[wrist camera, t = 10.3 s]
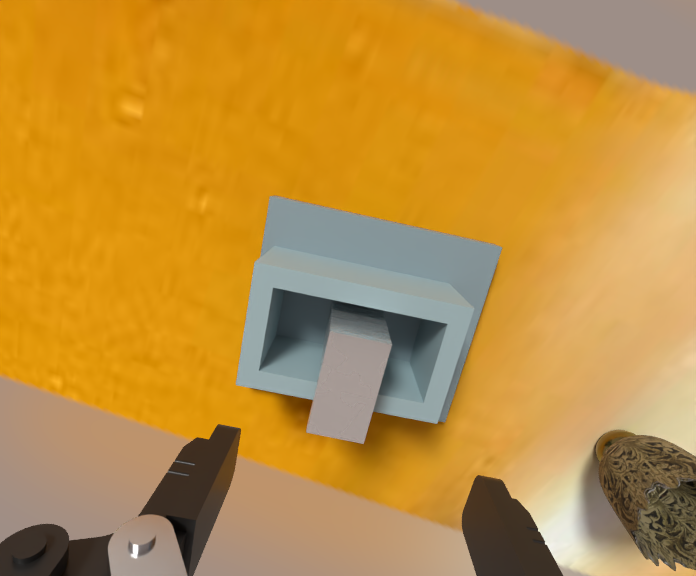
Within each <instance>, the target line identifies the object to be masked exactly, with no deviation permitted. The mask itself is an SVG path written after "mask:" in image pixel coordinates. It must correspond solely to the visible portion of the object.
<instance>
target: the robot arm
mask: <svg viewBox="0 0 696 576" xmlns="http://www.w3.org/2000/svg"><path fill="white" fill-rule="evenodd" d="M240 434H241V429H240V428H236V427H230V426H225V425H220V424H218V425H217V427H216V428H215V430H214V432H213V433H212V435H211V437H210V439H209V440H208V439H203V438H198V437H197V438H195V439H194V440H193V441H191V442H190V443H188V444H187V445H186V446H184V447H183V449H182V450H181V452H180V453H179V455H178V456H177V458H176V460H175V462H173V464H172V465H171V467H170V469H169V471H168V473H166V475H165V476H164V478H163V479H162V481H161V483H160V484H159V485H158V487H157V488H156V490H155V492H154V493H153V495H152V496H151V498H150V499H149V501H148V502H147V504H146V505H145V507H144V508H143V510H142V512H141V513H140V514H139V516H138V517H135V518H133V519H131V520H129V521H127V522H126V523H124V524H123V525H121V526H120V527H119V528H118V529H117V530H116V531H115V532H114V533H113V534H110V535H106V536H102V537H96V538H88V539H79V540H71V541H69V536H68V533H67V532H66V530H65V529H63V528H62V527H60V526H58V525H54V524H40V525H35V526H31V527H28V528H25V529H23V530H20V531H19V532H16V533H15V534H13V535H11V536H10V537H8V538H7V539H5V540H4V541H3V542H1V544H0V576H193V574H194V572H195V570H196V567H197V565H198V562H199V560H200V558H201V555H202V553H203V550H204V548H205V545H206V543H207V541H208V538H209V536H210V533H211V531H212V528H213V526H214V523H215V521H216V519H217V516H218V514H219V511H220V509H221V507H222V504H223V502H224V499H225V497H226V494H227V492H228V490H229V487H230V484H231V481H232V478H233V474H234V470H235V465H236V459H237V452H238V446H239V440H240ZM462 529H463V534H464V537H465V540H466V543H467V546H468V550H469V553H470V556H471V559H472V562H473V565H474V568H475V571H476V575H477V576H563V575H562V573H561V571H560V569H559V567H558V565H557V563H556V561H555V560H554V558H553V556H552V554H551V552H550V550H549V548H548V547H547V545H545V541H544V539H543V537H542V535H541V533H540V532H538V528H537V526H536V524H535V522H534V520H533V519H532V517H531V515H530V513H529V512H528V511H527V510H526V509H525V508H524V507H523V506H522V505H521V503H520V502H519V501H518V500H517V499H512V498H511V496H510V494H509V492H508V490H507V488H506V486H505V484H504V482H503V481H502V480H500V479H496V478H491V477H485V476H480V475H478V476H477V477H476V478H475V480H474V482H473V485H472V488H471V491H470V493H469V496H468V499H467V502H466V504H465V507H464V510H463V514H462Z"/></svg>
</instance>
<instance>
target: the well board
mask: <svg viewBox="0 0 696 576" xmlns="http://www.w3.org/2000/svg"><path fill="white" fill-rule="evenodd" d="M501 250H502V247H500V246H497V245H495V244H491V243H486V242H482V241H477V240H473V239H468V238H464V237H459V236H455V235H450V234H446V233H441V232H437V231H432V230H428V229H423V228H419V227H414V226H410V225H405V224H401V223H396V222H392V221H387V220H383V219H378V218H374V217H369V216H365V215H360V214H355V213H351V212H346V211H342V210H337V209H333V208H328V207H324V206H319V205H315V204H310V203H306V202H301V201H297V200H292V199H288V198H283V197H279V196H270V200H269V206H268V213H267V219H266V225H265V232H264V238H263V244H262V251H261V257H260V258H259V259H258V260H257V261H255V264H254V270H253V277H252V283H251V290H250V296H249V303H248V309H247V316H246V322H245V329H244V335H243V342H242V348H241V354H240V361H239V367H238V374H237V380H236V385H239V386H244V387H249V388H254V389H259V390H265V391H270V392H275V393H280V394H285V395H290V396H296V397H301V398H306V399H311V400H313V397H314V393H315V389H316V385H317V380H318V376H319V370H320V364H321V358H322V351H323V345H324V339H325V333H326V328H327V323H328V319H329V315H330V311H331V306H332V302H333V300H335V301H340V302H345V303H350V304H355V305H359V306H364V307H369V308H374V309H379V310H383V312H384V316H385V320H386V324H387V328H388V331H389V335H390V339H391V343H392V347H391V350H390V354H389V357H388V361H387V364H386V368H385V371H384V375H383V378H382V382H381V385H380V389H379V392H378V396H377V399H376V403H375V406H374V410H373V412H378V413H383V414H388V415H394V416H399V417H404V418H409V419H414V420H419V421H425V422H430V423H435V424H437V423H438V421H440V422H445V421H446V418H447V415H448V412H449V409H450V406H451V403H452V399H453V396H454V393H455V390H456V387H457V384H458V381H459V378H460V375H461V372H462V369H463V366H464V363H465V360H466V357H467V354H468V351H469V348H470V345H471V342H472V339H473V335H474V332H475V329H476V326H477V323H478V320H479V317H480V314H481V311H482V308H483V305H484V302H485V299H486V296H487V293H488V290H489V287H490V284H491V281H492V278H493V275H494V271H495V268H496V265H497V262H498V259H499V256H500V253H501Z"/></svg>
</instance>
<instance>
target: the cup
mask: <svg viewBox="0 0 696 576" xmlns="http://www.w3.org/2000/svg"><path fill="white" fill-rule="evenodd" d="M596 456H597V459H598V461H599V463H600V464H599V479H600V483H601V487H602V489H603V491H604V494H605V496H606V497H607V499H608V501H609V503H610V504H611V506H612V508H613V509H614V511H615V513H616V514H617V516H618V517H619V519H620V520H621V522H622V524H623V525H624V527H625V528H626V530H627V531H628V533H629V534H630V536H631V537H632V539H633V540H634V542H635V544H636V545H637V547H638V548H639V550H640V551H641V553H642V554H643V555H644V557H645V558H646V559H647V560H648V559H651V560H652V561H653V563H654V564H655V565H656V566H659V562H658V559H659V558H660V559H661V560H662V561H663V563H665V564H666V565H668V566H669V567H670V568H671V569H673V570H674V571H676V566H675V562H677V563H680V564H681V565H683V566H684V567H686V568H690V569H694V570H696V457H695V456H694V455H692V454H690V453H689V452H687V451H685V450H684V449H682V448H680V447H678V446H676V445H675V444H672V443H670V442H668V441H666V440H663V439H660V438H657V437H653V436H646V435H635V434H634V433H631V432H628V431H625V430H613V431H610V432H608V433H606V434H604V435H603V436H602V437H601V438H600V439H599V440H598V442H597V444H596Z"/></svg>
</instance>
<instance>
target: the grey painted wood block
mask: <svg viewBox="0 0 696 576" xmlns="http://www.w3.org/2000/svg"><path fill="white" fill-rule="evenodd" d="M391 347H392V343H391V339H390V335H389V331H388V328H387V324H386V320H385V316H384V312H383V310H379V309H374V308H369V307H364V306H359V305H355V304H350V303H345V302H340V301H335V300H333V302H332V306H331V311H330V315H329V319H328V323H327V328H326V333H325V339H324V345H323V351H322V358H321V364H320V370H319V376H318V380H317V385H316V389H315V393H314V397H313V402H312V406H311V410H310V414H309V418H308V424H307V430H306V432H307V433H312V434H317V435H322V436H327V437H332V438H336V439H341V440H346V441H351V442H356V443H361V444H364V441H365V438H366V434H367V431H368V427H369V424H370V420H371V417H372V413H373V410H374V406H375V403H376V399H377V396H378V392H379V389H380V385H381V382H382V378H383V375H384V371H385V368H386V364H387V361H388V357H389V354H390V350H391Z"/></svg>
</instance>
